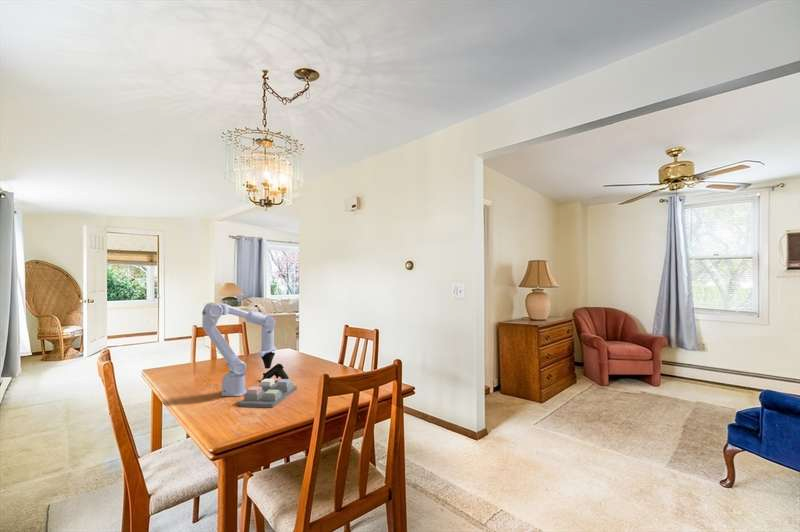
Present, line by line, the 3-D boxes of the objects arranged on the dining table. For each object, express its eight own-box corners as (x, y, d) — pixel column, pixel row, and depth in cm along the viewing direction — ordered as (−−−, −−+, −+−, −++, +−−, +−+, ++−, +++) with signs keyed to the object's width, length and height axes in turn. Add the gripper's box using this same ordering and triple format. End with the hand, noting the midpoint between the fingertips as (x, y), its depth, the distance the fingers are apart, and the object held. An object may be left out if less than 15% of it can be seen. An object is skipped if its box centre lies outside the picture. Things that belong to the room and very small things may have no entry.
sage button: (264, 398, 157) (264, 392, 157) (269, 395, 162) (269, 389, 162) (274, 399, 156) (274, 393, 156) (279, 395, 161) (279, 389, 161)
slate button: (277, 387, 169) (277, 381, 169) (281, 384, 173) (281, 379, 174) (286, 387, 168) (286, 382, 168) (290, 384, 173) (290, 379, 173)
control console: (238, 406, 154) (238, 397, 154) (267, 387, 179) (267, 380, 179) (272, 407, 152) (272, 398, 152) (296, 388, 177) (296, 380, 177)
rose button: (246, 395, 158) (246, 389, 158) (252, 392, 163) (252, 386, 163) (256, 395, 157) (256, 389, 157) (262, 392, 162) (262, 386, 162)
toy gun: (288, 378, 189) (277, 361, 190) (270, 392, 190) (259, 376, 192) (290, 376, 191) (280, 360, 192) (272, 390, 193) (262, 374, 194)
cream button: (260, 386, 170) (260, 381, 170) (265, 383, 174) (265, 378, 175) (270, 387, 169) (270, 381, 169) (274, 384, 174) (274, 378, 174)
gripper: (268, 343, 172) (268, 372, 172) (282, 337, 186) (282, 364, 186) (254, 342, 173) (254, 371, 173) (268, 337, 187) (268, 364, 187)
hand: (267, 368), depth 179 cm, fingers closed
